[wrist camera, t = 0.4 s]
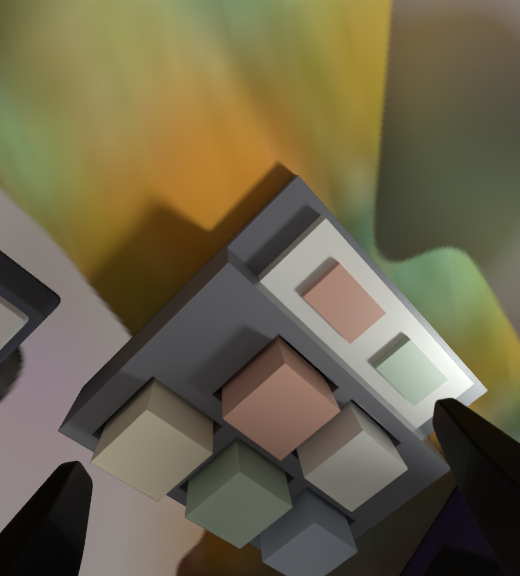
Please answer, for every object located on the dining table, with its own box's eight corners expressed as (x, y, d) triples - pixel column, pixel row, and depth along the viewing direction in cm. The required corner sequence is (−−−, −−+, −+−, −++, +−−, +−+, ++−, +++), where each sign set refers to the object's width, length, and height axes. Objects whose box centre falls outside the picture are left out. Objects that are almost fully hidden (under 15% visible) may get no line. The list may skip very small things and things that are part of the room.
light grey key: (336, 471, 25) (351, 512, 22) (293, 438, 23) (304, 477, 21) (385, 432, 24) (408, 469, 21) (345, 395, 23) (363, 430, 20)
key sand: (164, 458, 23) (157, 501, 20) (106, 422, 21) (90, 462, 19) (213, 415, 22) (212, 453, 19) (156, 374, 21) (146, 409, 18)
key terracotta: (272, 422, 23) (280, 460, 20) (221, 383, 21) (222, 418, 18) (324, 377, 22) (340, 411, 19) (275, 334, 21) (285, 363, 18)
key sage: (237, 504, 25) (239, 549, 22) (188, 473, 23) (185, 517, 21) (283, 466, 24) (292, 507, 21) (236, 432, 23) (239, 471, 20)
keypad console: (294, 524, 31) (305, 576, 27) (82, 386, 24) (57, 431, 20) (478, 382, 27) (520, 419, 24) (294, 174, 20) (312, 179, 17)
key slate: (298, 542, 27) (307, 588, 24) (257, 516, 26) (262, 561, 23) (343, 508, 26) (358, 551, 23) (303, 480, 25) (314, 522, 22)
